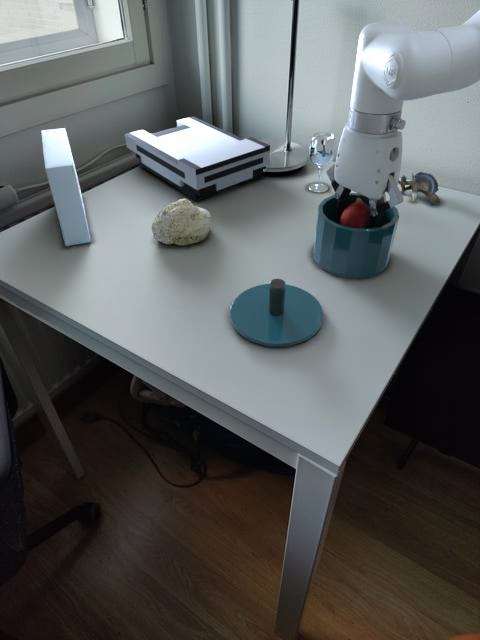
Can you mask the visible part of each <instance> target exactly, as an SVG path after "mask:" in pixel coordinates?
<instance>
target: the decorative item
mask: <svg viewBox="0 0 480 640" xmlns="http://www.w3.org/2000/svg"><path fill="white" fill-rule="evenodd" d="M211 219H212V215H211V212H209V211H208V210H207V209H206V208H203V207H199V206H197V205H194V204H193V203H192V201H190V200H189V199H188V198H185V197H184V198H180V199H178V200H176V201H174V202H171V203H170V204H168V205H166V206H164V207H163V208H162V209H161V210H160V211H159V212H158V213H156V215H155V217H154V218H153V221H152V223H151V232H152V235H153V236H152V237H153V239H155V240H157V241H159V242H161V243H162V244H166V245H171V244H175V245H176V246H187V245H192V244H196V243H199V242H202V241H203V240H205V239H206V238H207V237H208V235H209V233H210V231H211V223H212V220H211Z"/></svg>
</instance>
